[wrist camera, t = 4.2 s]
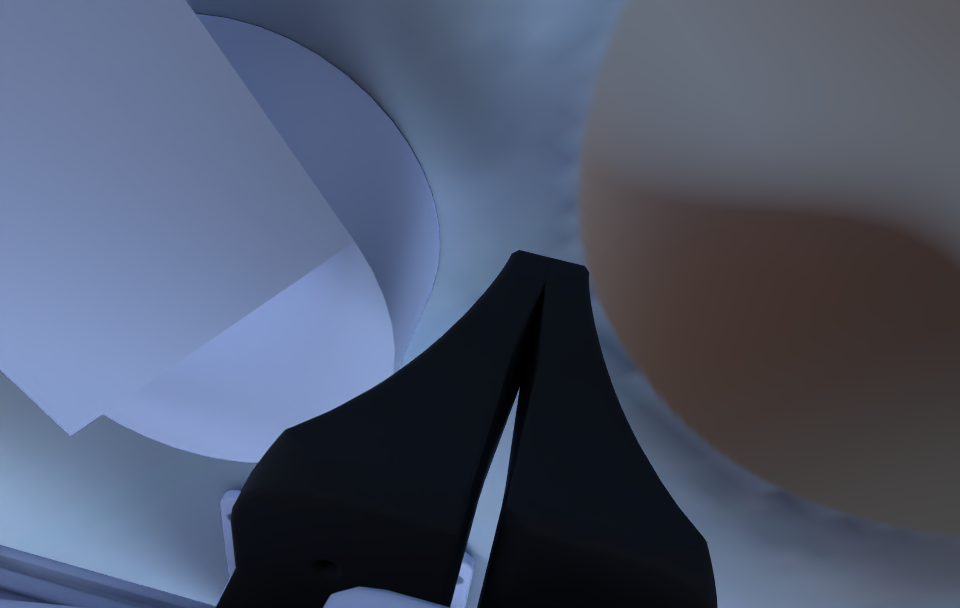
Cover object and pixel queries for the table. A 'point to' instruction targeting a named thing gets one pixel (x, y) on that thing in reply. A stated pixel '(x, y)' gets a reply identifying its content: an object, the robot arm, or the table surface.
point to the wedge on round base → (198, 225)
